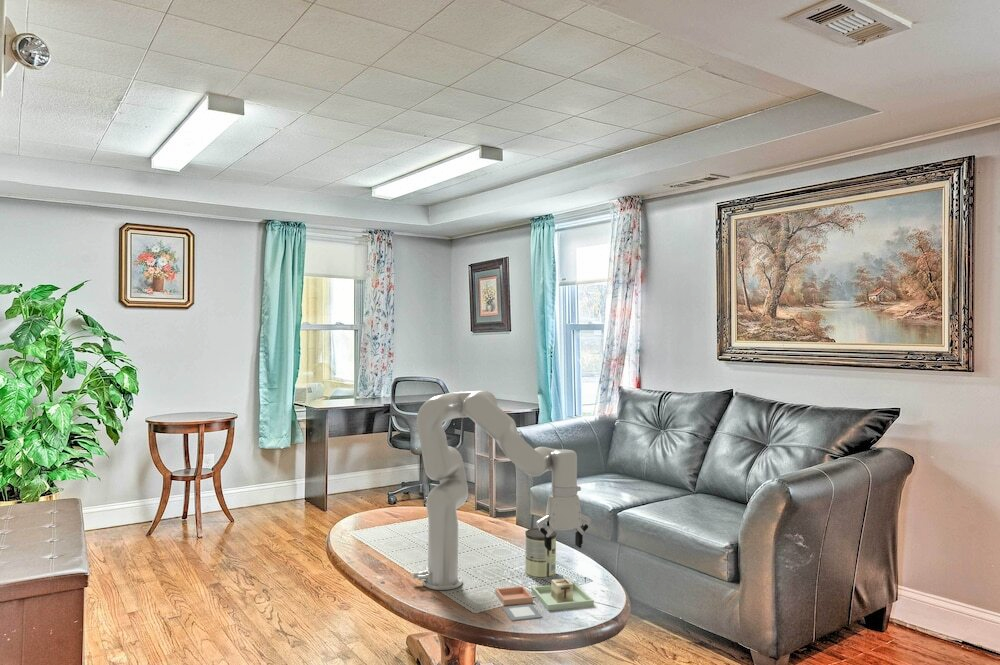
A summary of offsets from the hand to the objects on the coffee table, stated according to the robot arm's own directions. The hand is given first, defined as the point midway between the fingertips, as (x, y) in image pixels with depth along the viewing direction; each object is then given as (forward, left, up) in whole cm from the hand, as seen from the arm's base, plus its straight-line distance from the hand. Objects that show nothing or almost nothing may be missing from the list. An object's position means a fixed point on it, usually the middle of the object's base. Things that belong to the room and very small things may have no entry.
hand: (563, 547), depth 210 cm
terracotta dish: (-14, +4, -16) cm, 22 cm away
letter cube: (0, 0, -15) cm, 15 cm away
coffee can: (+1, +22, -16) cm, 27 cm away
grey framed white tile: (-15, -7, -16) cm, 23 cm away
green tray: (0, 0, -16) cm, 16 cm away
